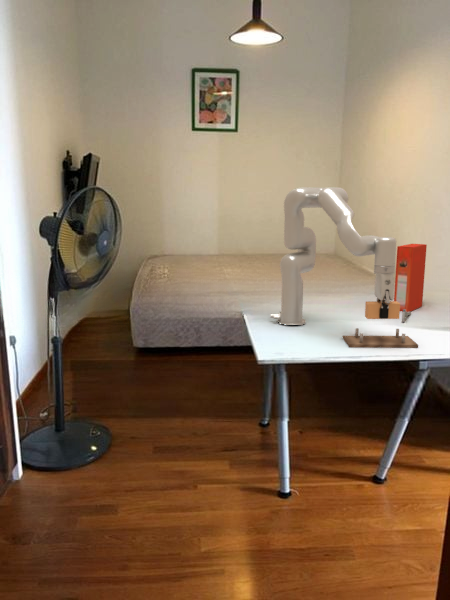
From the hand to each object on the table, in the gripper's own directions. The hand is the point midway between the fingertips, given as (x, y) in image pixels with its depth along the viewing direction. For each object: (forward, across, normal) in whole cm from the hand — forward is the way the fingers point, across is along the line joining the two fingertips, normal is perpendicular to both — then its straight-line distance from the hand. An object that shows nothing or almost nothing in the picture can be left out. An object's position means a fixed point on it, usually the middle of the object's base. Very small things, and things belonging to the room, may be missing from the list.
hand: (381, 316), depth 194 cm
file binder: (+11, +60, -31) cm, 69 cm away
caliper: (+11, +41, -24) cm, 48 cm away
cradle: (+11, 0, 0) cm, 11 cm away
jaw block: (0, 0, 0) cm, 0 cm away
